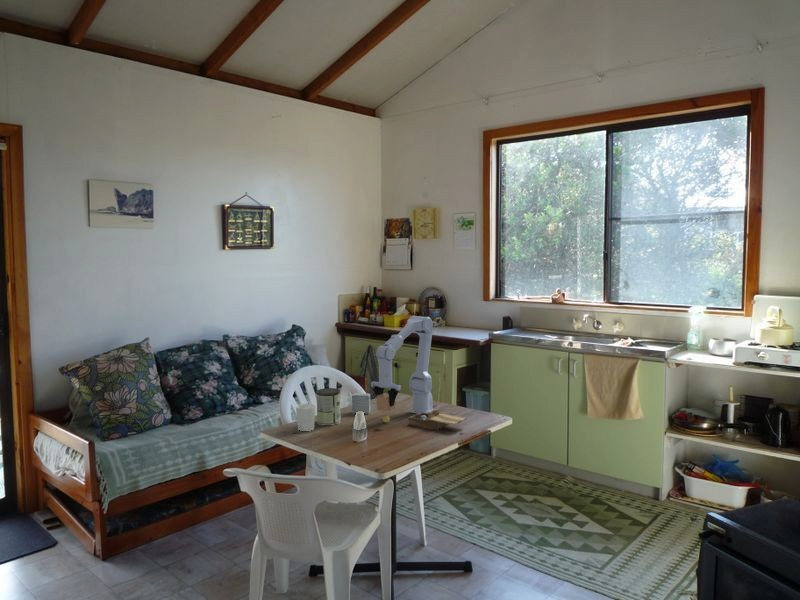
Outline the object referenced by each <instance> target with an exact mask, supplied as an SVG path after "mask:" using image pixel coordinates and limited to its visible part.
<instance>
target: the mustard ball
mask: <svg viewBox="0 0 800 600" xmlns="http://www.w3.org/2000/svg"><path fill="white" fill-rule="evenodd" d="M382 421H383V423H387V424H388V423H389V422H390V416H388V415H385V416H383V417H382Z"/></svg>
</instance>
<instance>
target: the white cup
mask: <svg viewBox="0 0 800 600" xmlns="http://www.w3.org/2000/svg"><path fill="white" fill-rule="evenodd" d="M295 411H296V412H295V413H296V414H295V415H296V423H297V430H298V431H299V430H300V431H299V432H301V431H309V432H312V431H314V430H315V422H316V417H315V416H316V405H315V404H313V403H300V404H298V405H296V406H295ZM311 430H312V431H311Z"/></svg>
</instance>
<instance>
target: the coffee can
mask: <svg viewBox="0 0 800 600" xmlns="http://www.w3.org/2000/svg"><path fill="white" fill-rule="evenodd" d="M315 393H316V394H315V395H316V416H317V417H316V420H317V421H316V423H318V424H317V425H318V426H322V425H332V426H336V425H335V424H337V425H339V424H341V423H342V421H341V419H342V418H341V389H339V388H334V387H327V388H320V389H317V390H315Z"/></svg>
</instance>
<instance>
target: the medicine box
mask: <svg viewBox="0 0 800 600" xmlns="http://www.w3.org/2000/svg"><path fill="white" fill-rule="evenodd" d="M351 406H352V408H351V414H352V415H356V414H355V413H356V412H358V411H363V412H365V414H364V415H370V413H371V412H372V411H371V410H372V409H371V393H366V392H365V393H361V392H360V393H359V392H358V393H356V392H355V393H353V394H352V395H351Z"/></svg>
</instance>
